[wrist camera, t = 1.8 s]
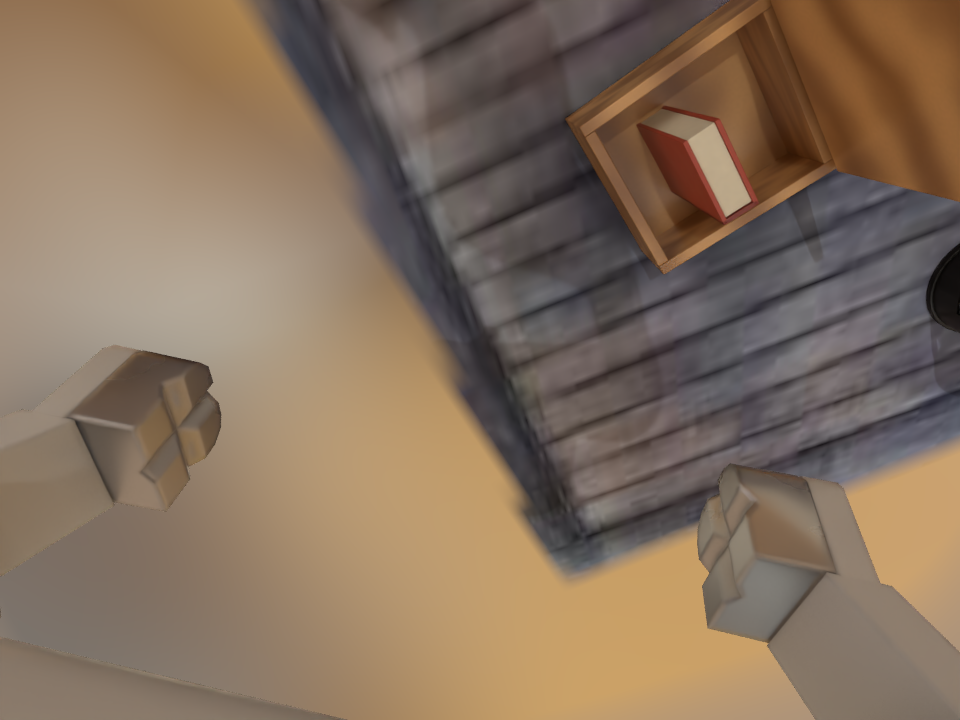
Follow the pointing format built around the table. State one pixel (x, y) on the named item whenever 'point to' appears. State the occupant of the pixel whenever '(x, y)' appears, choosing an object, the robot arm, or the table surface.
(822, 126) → the pine box lid
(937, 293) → the french press
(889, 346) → the table surface
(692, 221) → the pine box
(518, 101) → the table surface
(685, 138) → the book
